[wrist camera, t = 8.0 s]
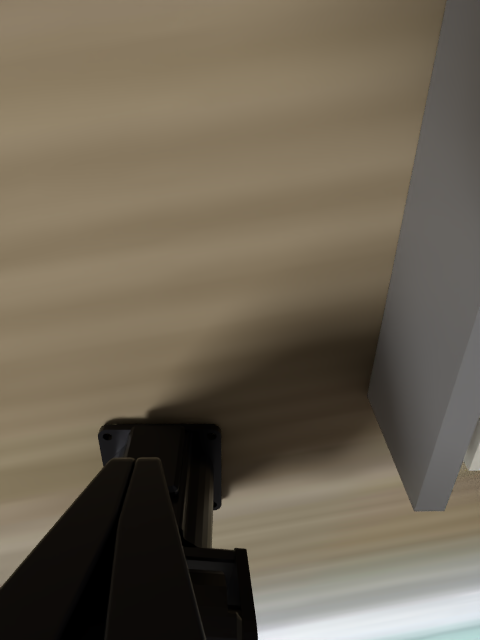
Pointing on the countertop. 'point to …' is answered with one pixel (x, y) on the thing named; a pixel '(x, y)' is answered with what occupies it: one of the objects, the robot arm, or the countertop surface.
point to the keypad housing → (437, 284)
